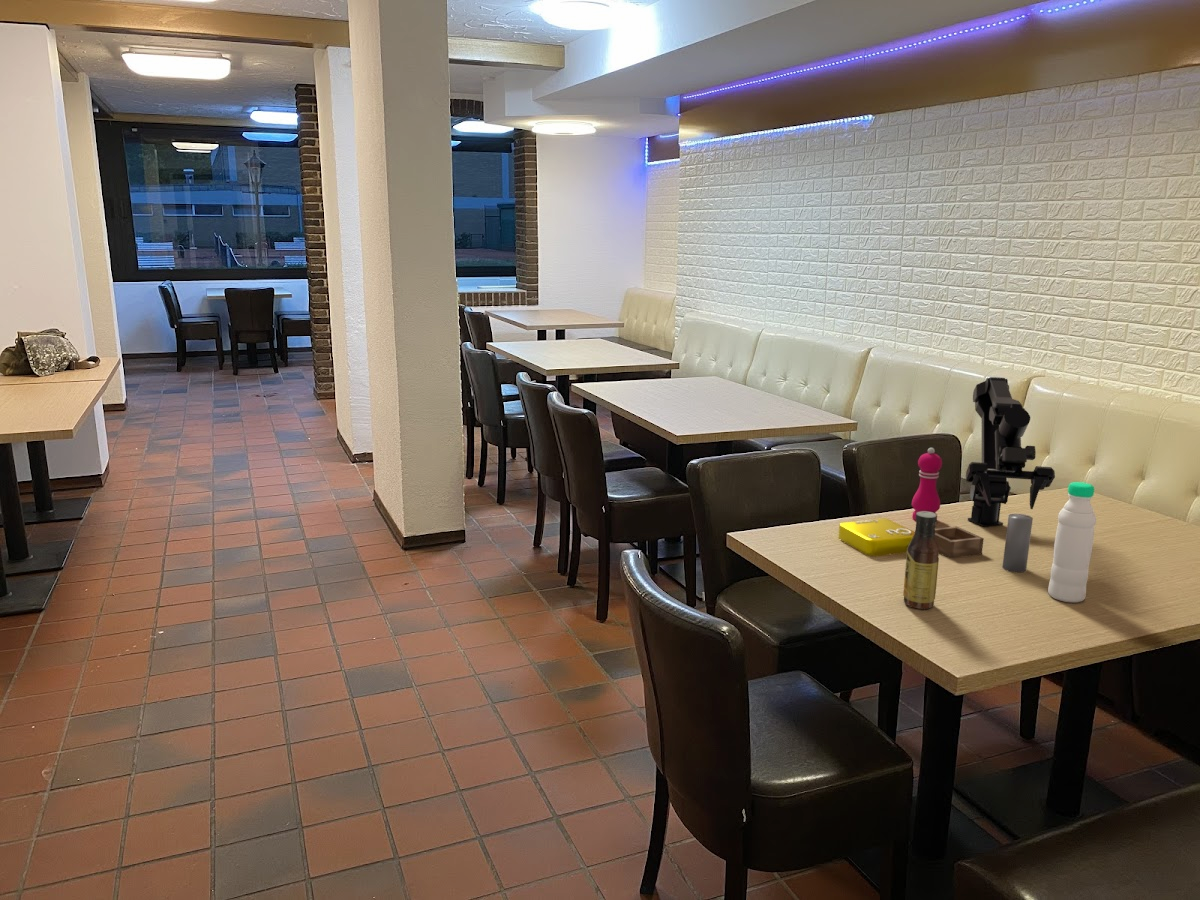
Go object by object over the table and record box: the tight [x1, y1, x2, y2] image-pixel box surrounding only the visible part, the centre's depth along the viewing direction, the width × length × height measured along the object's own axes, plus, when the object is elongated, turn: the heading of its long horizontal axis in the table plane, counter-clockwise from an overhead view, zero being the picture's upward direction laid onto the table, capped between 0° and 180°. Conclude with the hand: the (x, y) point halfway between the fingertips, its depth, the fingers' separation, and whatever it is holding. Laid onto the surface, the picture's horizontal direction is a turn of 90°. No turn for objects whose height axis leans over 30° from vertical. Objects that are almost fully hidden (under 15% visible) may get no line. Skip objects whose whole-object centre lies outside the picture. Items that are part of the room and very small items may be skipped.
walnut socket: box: [934, 525, 984, 559], centre depth 219 cm, size 10×10×4 cm
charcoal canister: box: [1002, 513, 1033, 574], centre depth 206 cm, size 5×5×12 cm
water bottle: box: [1047, 481, 1097, 604], centre depth 188 cm, size 7×7×25 cm
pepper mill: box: [911, 447, 943, 522], centre depth 240 cm, size 7×7×20 cm
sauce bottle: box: [902, 511, 940, 610], centre depth 184 cm, size 7×6×20 cm
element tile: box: [837, 518, 915, 557], centre depth 223 cm, size 15×15×5 cm
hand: (1010, 506), depth 211 cm, fingers open, 9 cm apart
